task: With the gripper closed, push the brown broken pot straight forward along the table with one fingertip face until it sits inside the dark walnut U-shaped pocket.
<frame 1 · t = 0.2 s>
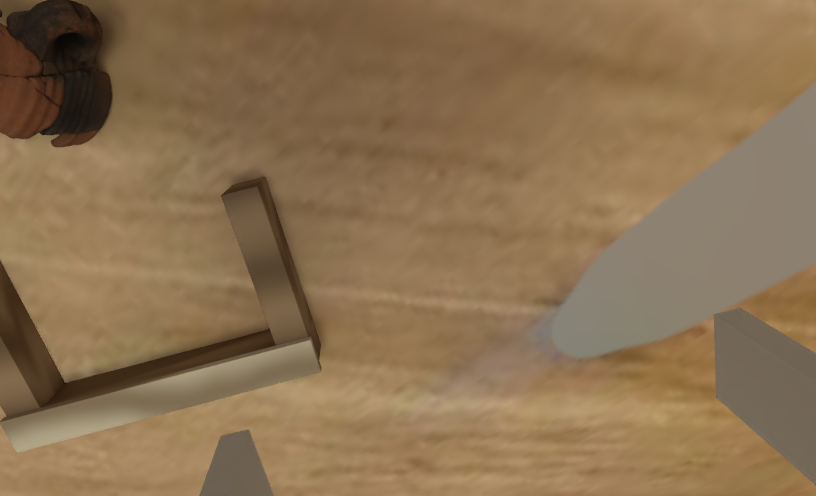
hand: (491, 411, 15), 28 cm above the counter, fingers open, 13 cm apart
brown broken pot: (50, 68, 36), on the counter
walnut pocket: (179, 367, 43), on the counter
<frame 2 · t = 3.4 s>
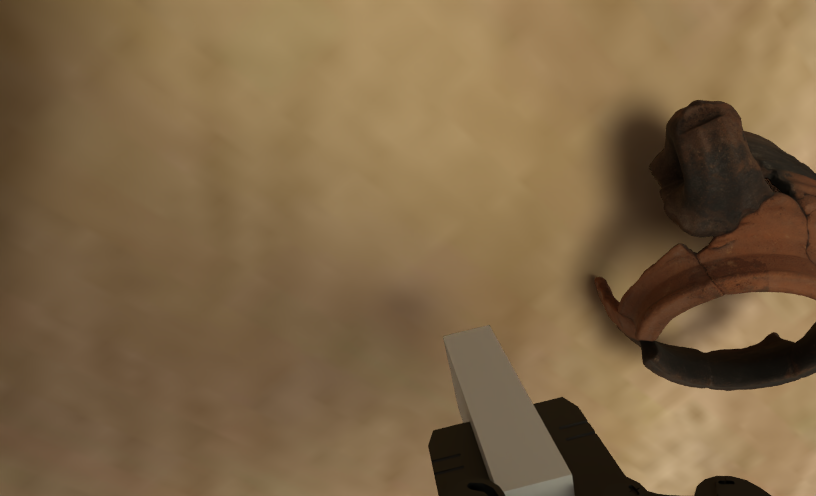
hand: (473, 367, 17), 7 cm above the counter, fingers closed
brown broken pot: (675, 216, 24), on the counter
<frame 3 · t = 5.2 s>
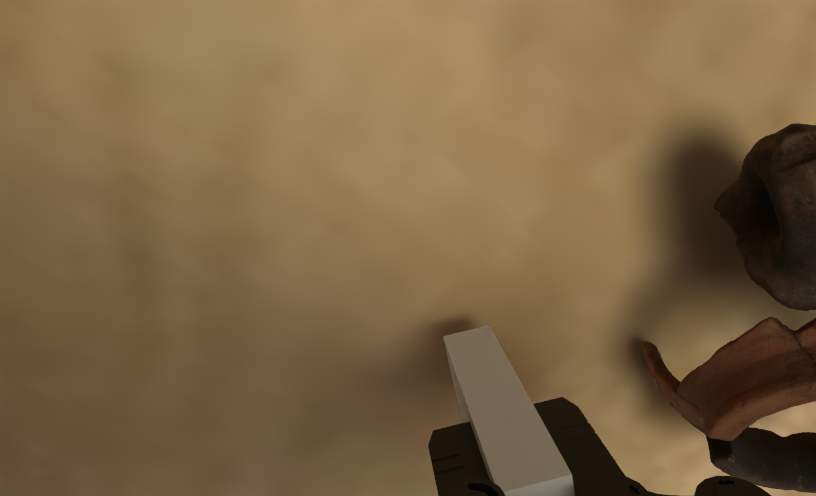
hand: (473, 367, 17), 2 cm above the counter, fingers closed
brown broken pot: (741, 263, 19), on the counter
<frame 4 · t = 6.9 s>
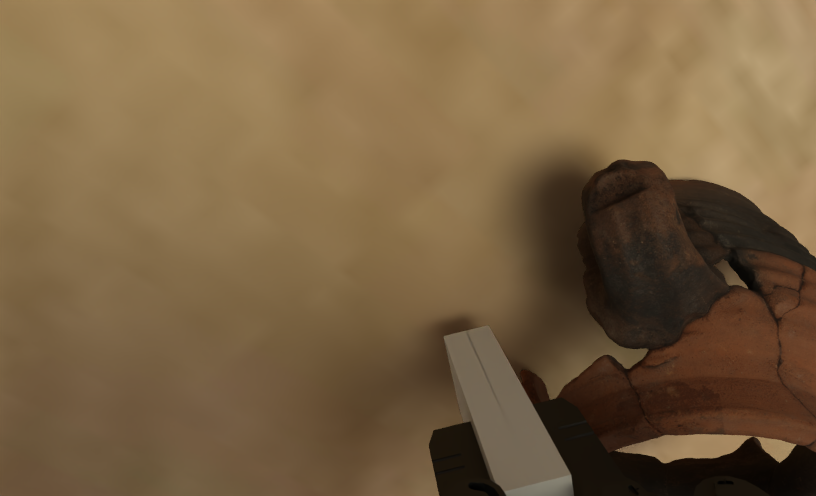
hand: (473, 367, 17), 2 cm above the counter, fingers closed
brown broken pot: (622, 288, 19), on the counter, touching gripper
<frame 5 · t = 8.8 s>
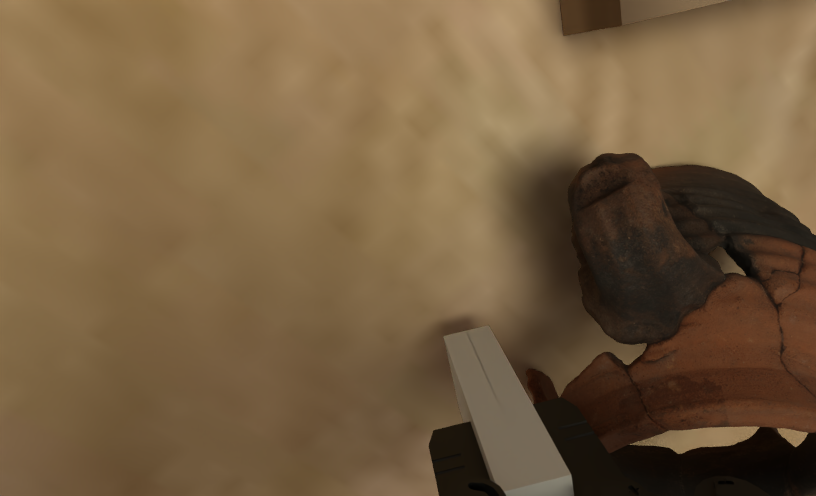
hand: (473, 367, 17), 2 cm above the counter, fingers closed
brown broken pot: (623, 279, 18), on the counter, touching gripper
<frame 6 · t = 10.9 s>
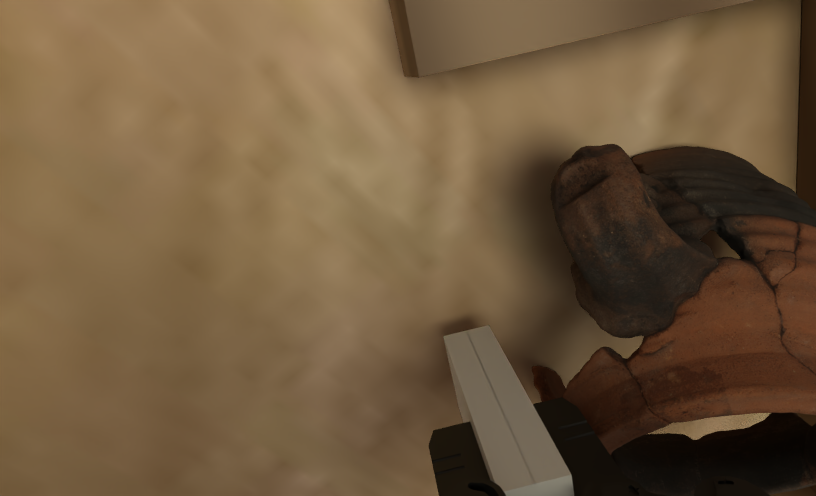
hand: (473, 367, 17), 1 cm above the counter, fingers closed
brown broken pot: (623, 267, 18), on the counter, touching gripper
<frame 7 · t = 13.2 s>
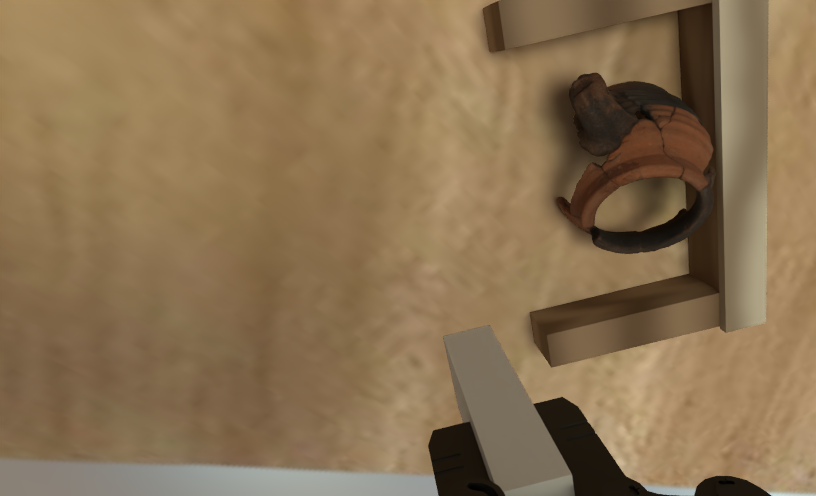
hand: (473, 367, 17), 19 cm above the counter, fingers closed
brown broken pot: (603, 147, 35), on the counter
walnut pocket: (702, 148, 36), on the counter
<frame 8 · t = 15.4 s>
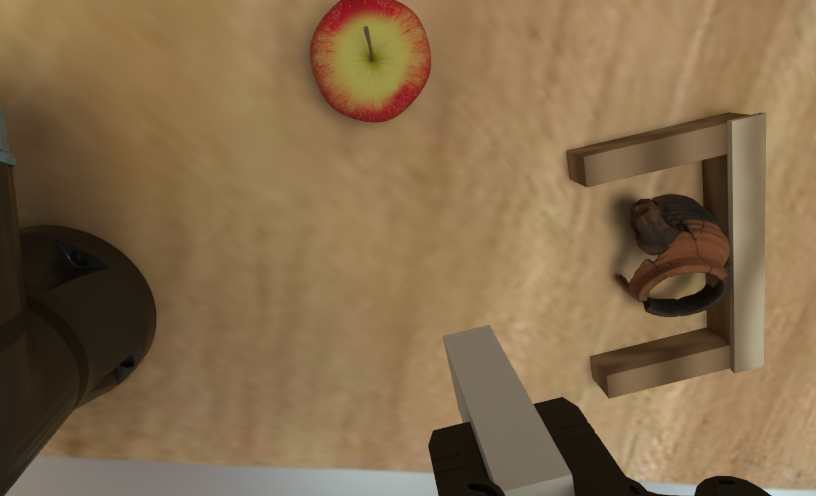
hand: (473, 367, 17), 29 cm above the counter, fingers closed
brown broken pot: (649, 237, 49), on the counter
walnut pocket: (717, 239, 49), on the counter
apple: (369, 61, 42), on the counter
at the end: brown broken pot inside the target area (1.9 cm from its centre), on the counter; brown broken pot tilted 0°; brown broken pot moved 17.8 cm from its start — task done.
